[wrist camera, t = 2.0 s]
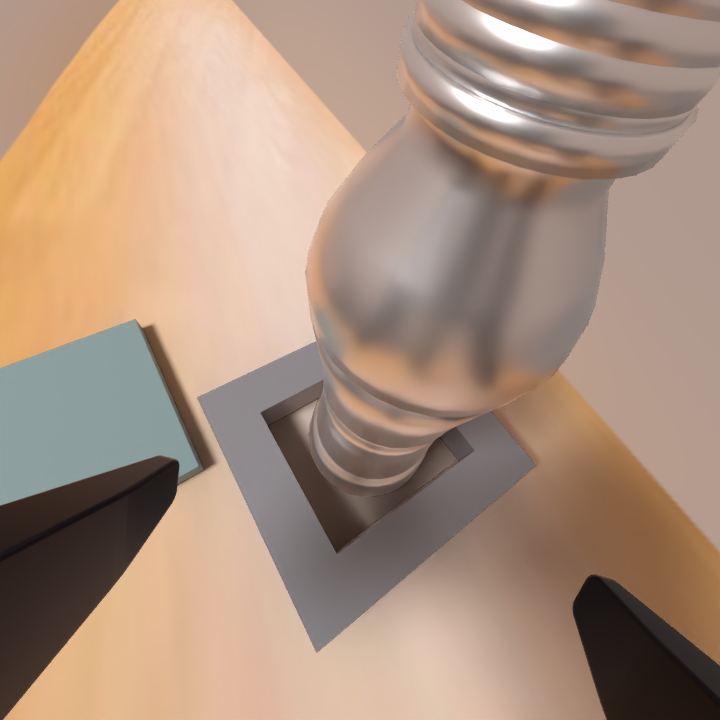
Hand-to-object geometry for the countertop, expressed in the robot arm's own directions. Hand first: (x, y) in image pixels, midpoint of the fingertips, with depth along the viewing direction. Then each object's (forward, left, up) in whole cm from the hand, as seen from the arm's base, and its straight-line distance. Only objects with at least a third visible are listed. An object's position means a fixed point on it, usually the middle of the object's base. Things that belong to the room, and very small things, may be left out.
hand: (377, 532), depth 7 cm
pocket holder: (+4, +4, -12) cm, 13 cm away
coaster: (-10, +13, -12) cm, 20 cm away
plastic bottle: (+4, +4, -12) cm, 14 cm away
